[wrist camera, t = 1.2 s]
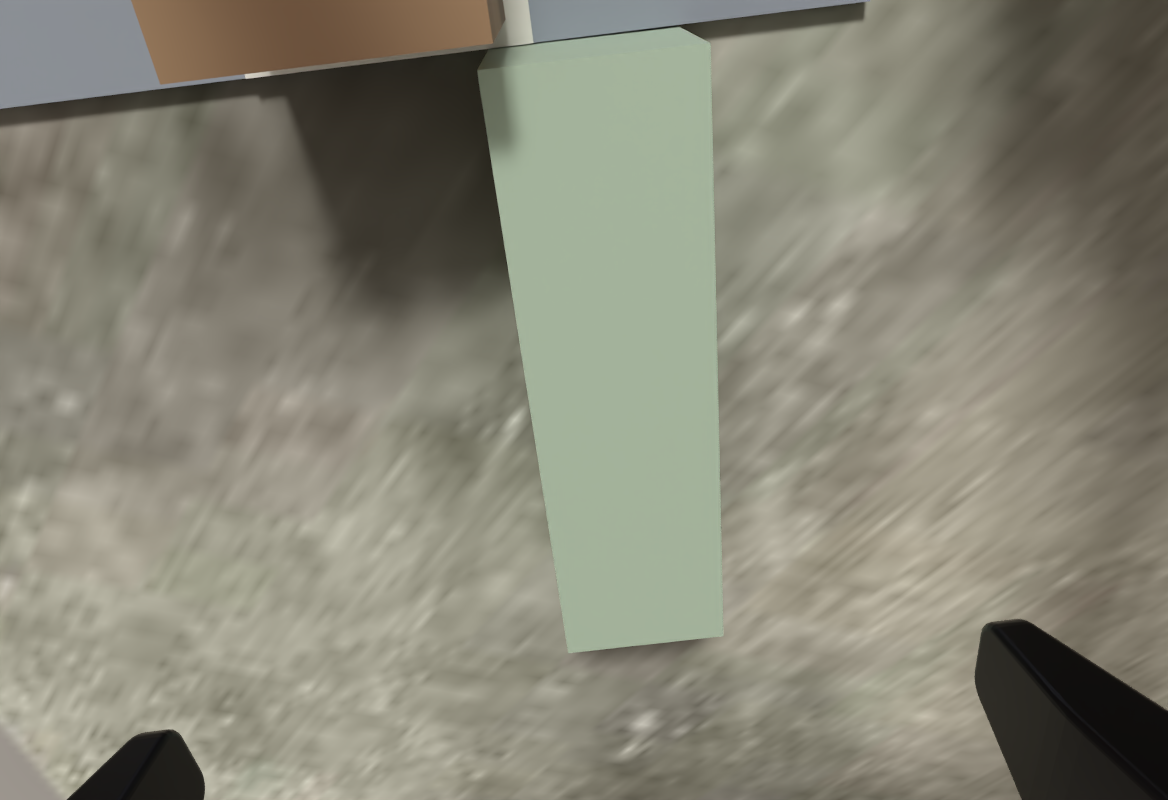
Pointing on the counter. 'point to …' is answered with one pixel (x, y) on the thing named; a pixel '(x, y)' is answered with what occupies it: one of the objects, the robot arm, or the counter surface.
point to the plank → (616, 320)
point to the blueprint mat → (123, 65)
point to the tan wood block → (303, 32)
